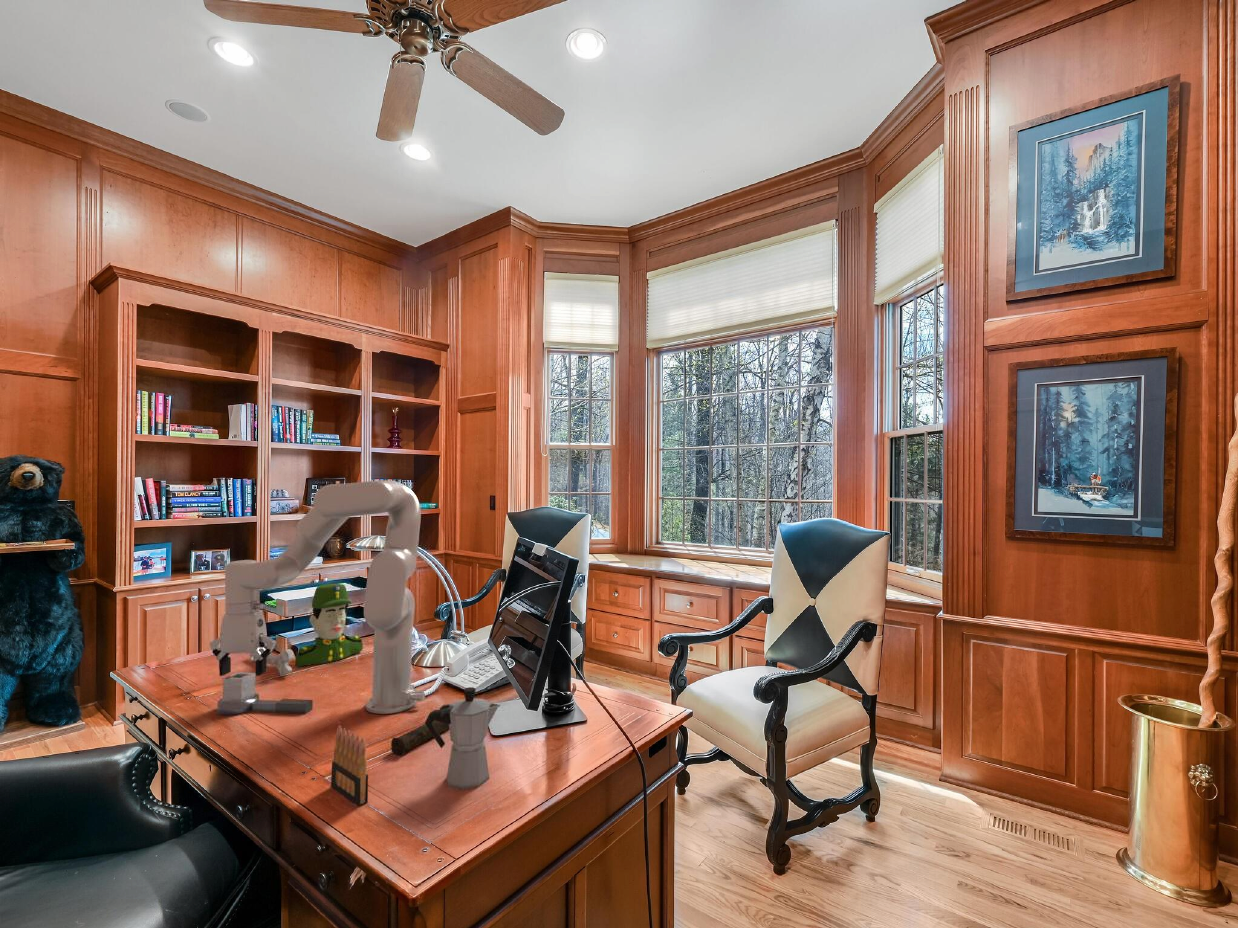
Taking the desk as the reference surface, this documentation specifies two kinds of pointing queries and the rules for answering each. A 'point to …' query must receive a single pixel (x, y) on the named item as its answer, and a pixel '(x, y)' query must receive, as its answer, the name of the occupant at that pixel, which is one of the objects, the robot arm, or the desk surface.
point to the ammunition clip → (350, 767)
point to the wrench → (279, 661)
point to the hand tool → (415, 737)
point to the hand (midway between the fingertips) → (242, 674)
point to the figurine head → (329, 628)
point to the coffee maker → (465, 738)
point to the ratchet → (265, 706)
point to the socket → (238, 687)
